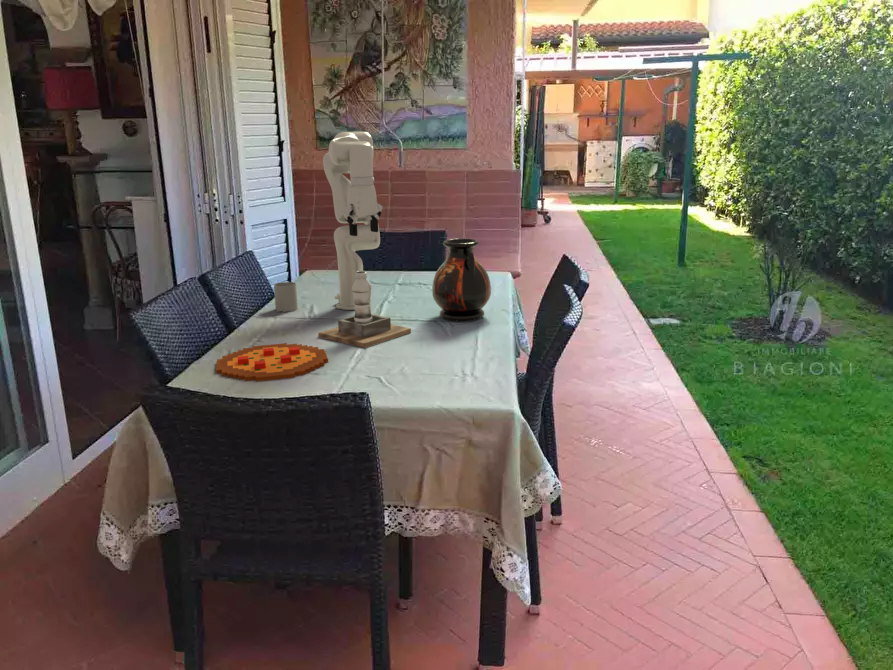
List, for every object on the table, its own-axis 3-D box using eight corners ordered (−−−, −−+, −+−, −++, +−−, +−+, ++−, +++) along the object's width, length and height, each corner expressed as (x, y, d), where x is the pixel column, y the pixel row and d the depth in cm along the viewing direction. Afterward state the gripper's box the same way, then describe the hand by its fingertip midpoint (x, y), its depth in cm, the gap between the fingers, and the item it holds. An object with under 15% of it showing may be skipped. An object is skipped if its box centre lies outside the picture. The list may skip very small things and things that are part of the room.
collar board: (318, 336, 245) (317, 321, 244) (365, 323, 261) (364, 308, 260) (364, 347, 232) (364, 331, 230) (410, 332, 248) (410, 317, 247)
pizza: (333, 374, 208) (332, 364, 208) (216, 387, 200) (215, 376, 199) (320, 344, 238) (319, 335, 237) (218, 354, 230) (217, 344, 229)
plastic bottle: (377, 328, 248) (374, 271, 242) (367, 334, 242) (364, 274, 236) (360, 327, 250) (357, 269, 245) (350, 332, 244) (347, 273, 239)
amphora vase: (423, 313, 273) (421, 239, 265) (475, 307, 281) (475, 235, 273) (446, 327, 254) (445, 247, 246) (501, 320, 262) (501, 242, 254)
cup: (301, 307, 286) (299, 282, 283) (290, 312, 279) (288, 287, 276) (283, 306, 289) (281, 281, 286) (271, 311, 281) (269, 285, 278)
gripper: (372, 179, 248) (374, 229, 254) (334, 183, 236) (337, 236, 241) (388, 180, 244) (390, 231, 249) (350, 185, 231) (353, 238, 236)
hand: (364, 233), depth 245 cm, fingers open, 9 cm apart
